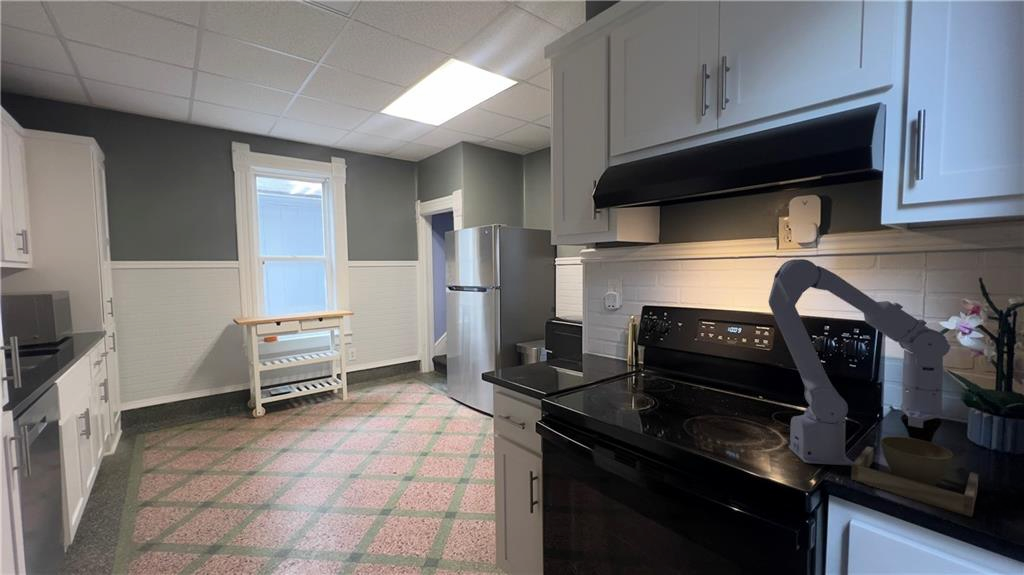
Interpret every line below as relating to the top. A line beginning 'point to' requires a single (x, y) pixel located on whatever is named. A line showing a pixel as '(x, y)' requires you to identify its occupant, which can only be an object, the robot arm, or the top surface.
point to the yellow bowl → (916, 459)
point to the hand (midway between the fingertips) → (920, 452)
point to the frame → (915, 486)
